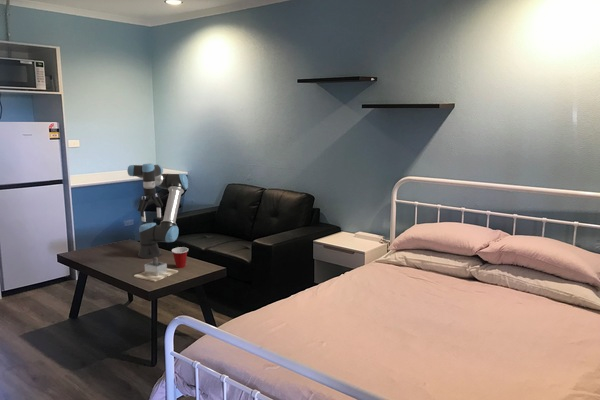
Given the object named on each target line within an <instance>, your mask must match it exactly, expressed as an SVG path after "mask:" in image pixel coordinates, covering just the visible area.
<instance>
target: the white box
mask: <svg viewBox="0 0 600 400" xmlns="http://www.w3.org/2000/svg"><path fill="white" fill-rule="evenodd" d="M167 268H168V265H167V262H162V261H158V266H156V265H153V260H152V261H150V262H148V263H145V264H144V271H145V274H150V275H155V276H160V275H162V274H164V273H167Z"/></svg>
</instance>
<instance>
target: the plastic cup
mask: <svg viewBox="0 0 600 400" xmlns="http://www.w3.org/2000/svg"><path fill="white" fill-rule="evenodd" d="M171 252H172V256H173V259H174V262H175V266H176V268H178V269H181V268H185V267H186V266H187V265H186V264H187V257H188V252H189V248H188V247H185V246H182V247H181V246H180V247H179V246H177V247H175V248H172V249H171Z"/></svg>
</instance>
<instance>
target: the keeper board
mask: <svg viewBox="0 0 600 400" xmlns="http://www.w3.org/2000/svg"><path fill="white" fill-rule="evenodd" d="M152 261H153V265H156V266H158V262H159V259H158V256H157V257H154V258H152ZM177 273H179V270H176V269H172V268H168V267H167V273H164V274H162V275H160V276H155V275H150V274H145V270H144V271H142V272H140V273H136V274H134V275H133V277H134V278H137V279H142V280H146V281H150V282H159V281H160V280H162V279H165V278H167V276H168V277H169V276H172V275H175V274H177Z"/></svg>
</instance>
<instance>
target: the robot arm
mask: <svg viewBox="0 0 600 400" xmlns="http://www.w3.org/2000/svg"><path fill="white" fill-rule="evenodd" d="M163 172H164V168H163V167H162V166H161V165H159V164H154V163H143V164H138V165H137V164H132V165H131V164H130V165H129V166H127V174H128V176H129V177H137V178H140V179H142V186H143V194H144V196H141V195H140V199H139V200H140V201H139V204H138V207H137V211H138V212H140V217H141V222H146V223H144V224H141V225H139V229H138V232H139V244H140V245H139V250H138V254H137V255H138V258H141V259H153V258H154V257H157V258H158V257H159V256H161V250H160V248H159V245H158V243H173V242H175V241H177V239H178V237H179V227H178V225H177V223H176V221H177V216H178V210H179V207H180V202H181V196H182V194H184V193H185V190H186V191H187V189H188V188H189V179H188V177H187V175H186V174H184V173H163ZM156 187H158V188H160V189H165V190H168V192H169V193H168V197H167V201H166V206H165V210H164V215H163V220H161V221H160V224H159V225H158V224H157V223H156V222H148V223H147V221H146V219H147V218H146V211H145V210H146V209H147V206H148V204H149V203H152V202H153V203H154V205H155V206H156V217H157V218H159V219H160V218H162V208H163V207H164V204H163V202H162V200H161V197H160V193H158V192H157V190H156Z"/></svg>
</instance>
